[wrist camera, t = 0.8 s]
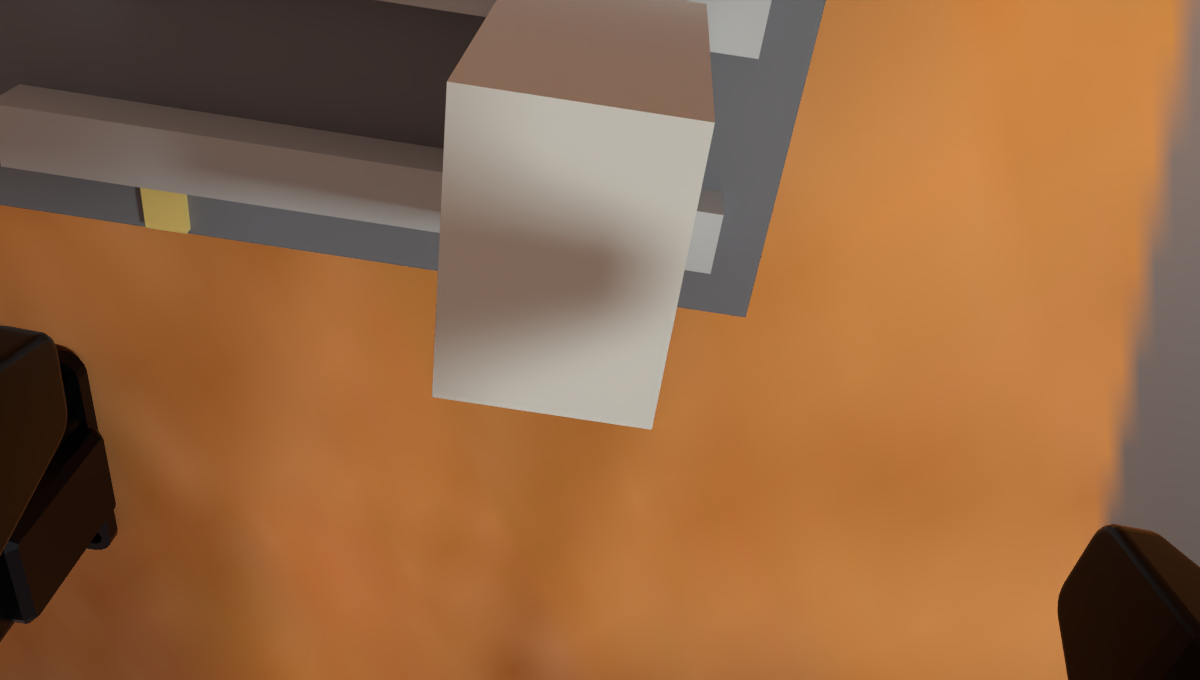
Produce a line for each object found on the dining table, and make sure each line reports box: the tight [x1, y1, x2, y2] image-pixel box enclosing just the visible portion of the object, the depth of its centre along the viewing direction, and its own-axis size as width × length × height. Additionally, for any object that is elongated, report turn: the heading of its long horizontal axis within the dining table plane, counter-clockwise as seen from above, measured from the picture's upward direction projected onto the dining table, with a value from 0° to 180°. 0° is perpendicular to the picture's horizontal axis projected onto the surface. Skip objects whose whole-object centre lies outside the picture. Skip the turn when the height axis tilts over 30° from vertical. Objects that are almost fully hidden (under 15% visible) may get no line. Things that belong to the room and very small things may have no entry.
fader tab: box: [432, 0, 715, 430], centre depth 15 cm, size 3×4×6 cm
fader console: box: [0, 0, 826, 317], centre depth 18 cm, size 15×8×4 cm, turn 83°
